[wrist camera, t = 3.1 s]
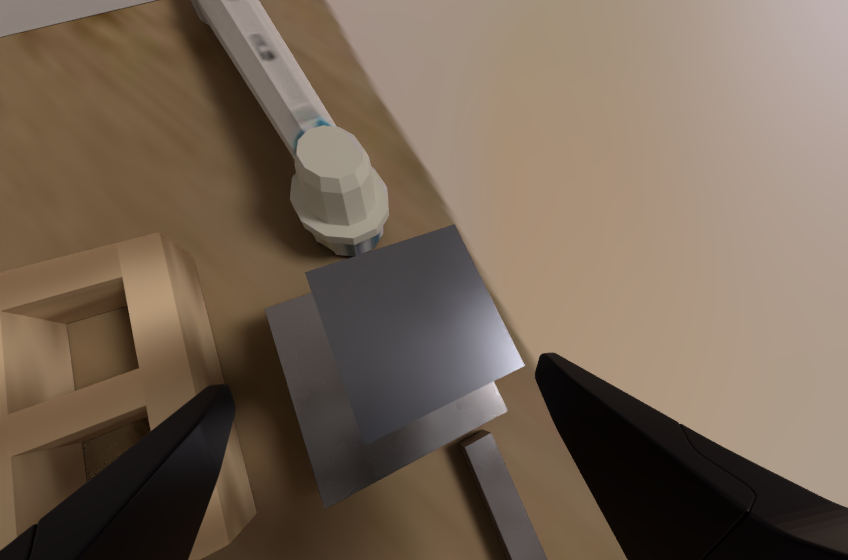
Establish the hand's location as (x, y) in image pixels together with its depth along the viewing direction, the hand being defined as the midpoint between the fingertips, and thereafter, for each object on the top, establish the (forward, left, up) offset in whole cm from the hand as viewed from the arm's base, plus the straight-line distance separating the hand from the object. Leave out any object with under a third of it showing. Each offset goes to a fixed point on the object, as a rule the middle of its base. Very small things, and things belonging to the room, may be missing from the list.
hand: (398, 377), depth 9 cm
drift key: (-8, -3, -9) cm, 13 cm away
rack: (+4, +12, -9) cm, 15 cm away
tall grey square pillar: (+1, 0, -9) cm, 9 cm away
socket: (+1, 0, -9) cm, 9 cm away
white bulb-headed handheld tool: (+20, 0, -9) cm, 22 cm away
